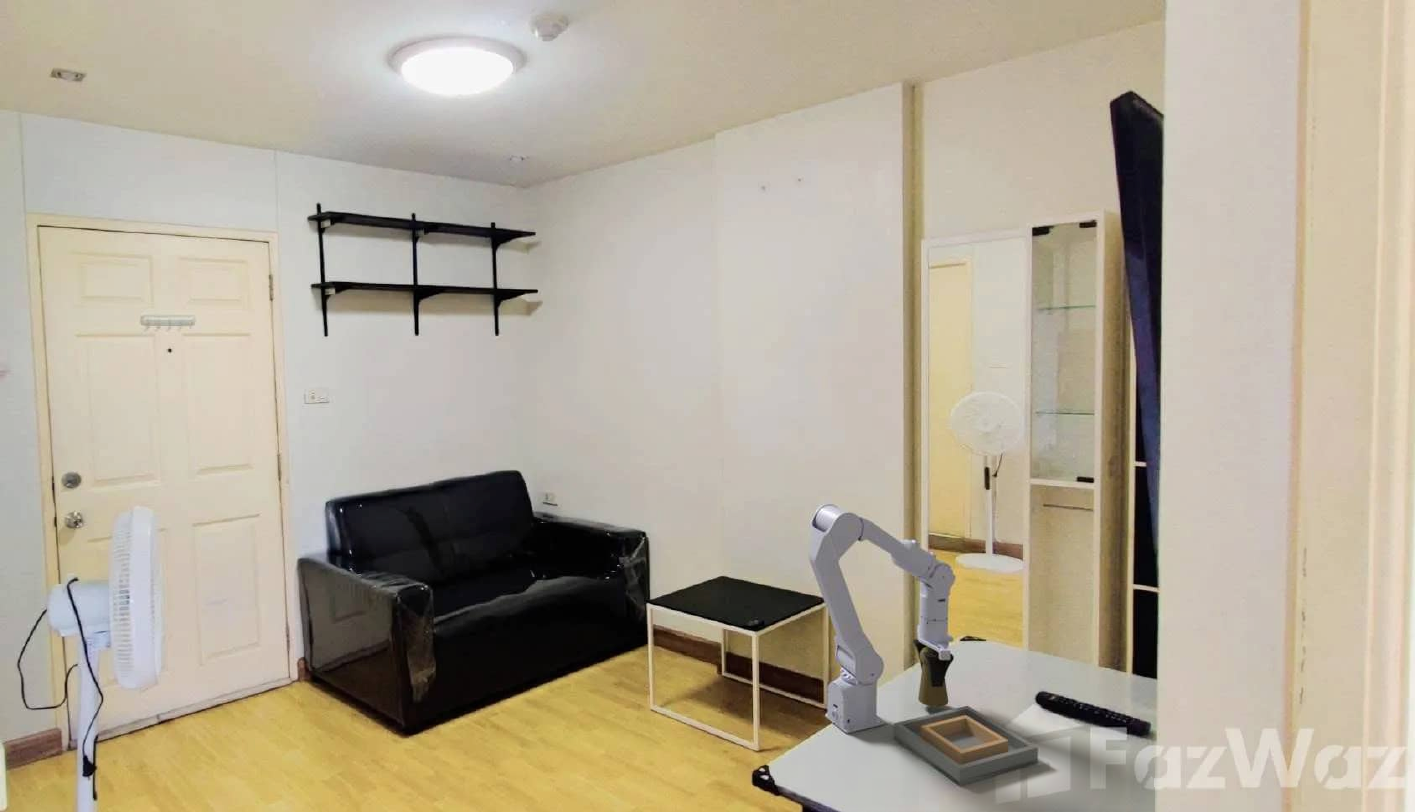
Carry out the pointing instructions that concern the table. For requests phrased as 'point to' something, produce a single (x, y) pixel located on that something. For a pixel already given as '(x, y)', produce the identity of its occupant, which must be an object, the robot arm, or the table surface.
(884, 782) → the table surface
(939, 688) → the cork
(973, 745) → the tray
